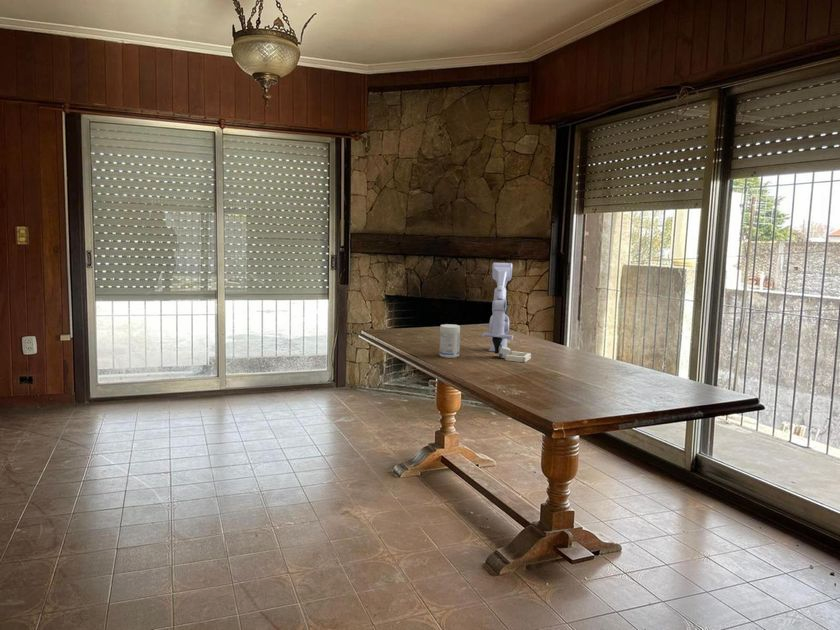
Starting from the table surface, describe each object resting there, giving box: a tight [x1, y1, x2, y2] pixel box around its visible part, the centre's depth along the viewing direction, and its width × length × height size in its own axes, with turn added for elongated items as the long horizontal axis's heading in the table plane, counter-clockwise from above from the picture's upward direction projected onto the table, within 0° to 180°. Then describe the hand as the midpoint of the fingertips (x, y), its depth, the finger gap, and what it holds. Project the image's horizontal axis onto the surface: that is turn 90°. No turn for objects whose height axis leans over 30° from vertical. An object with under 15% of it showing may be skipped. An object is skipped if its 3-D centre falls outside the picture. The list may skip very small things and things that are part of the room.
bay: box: [504, 350, 532, 363], centre depth 299 cm, size 11×9×2 cm
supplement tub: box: [438, 323, 461, 359], centre depth 300 cm, size 10×10×15 cm
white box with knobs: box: [496, 344, 512, 359], centre depth 302 cm, size 7×5×6 cm
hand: (496, 353), depth 302 cm, fingers closed, pressing on white box with knobs
